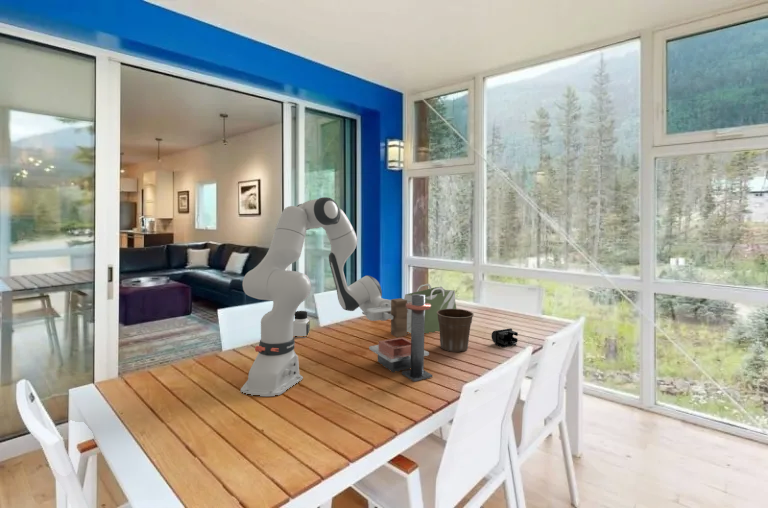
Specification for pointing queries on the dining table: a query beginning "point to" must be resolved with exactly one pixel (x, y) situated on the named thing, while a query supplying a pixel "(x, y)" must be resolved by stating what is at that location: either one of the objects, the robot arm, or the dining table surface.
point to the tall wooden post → (399, 317)
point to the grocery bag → (433, 305)
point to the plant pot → (454, 329)
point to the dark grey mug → (504, 337)
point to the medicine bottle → (301, 324)
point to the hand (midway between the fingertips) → (400, 316)
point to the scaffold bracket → (407, 345)
